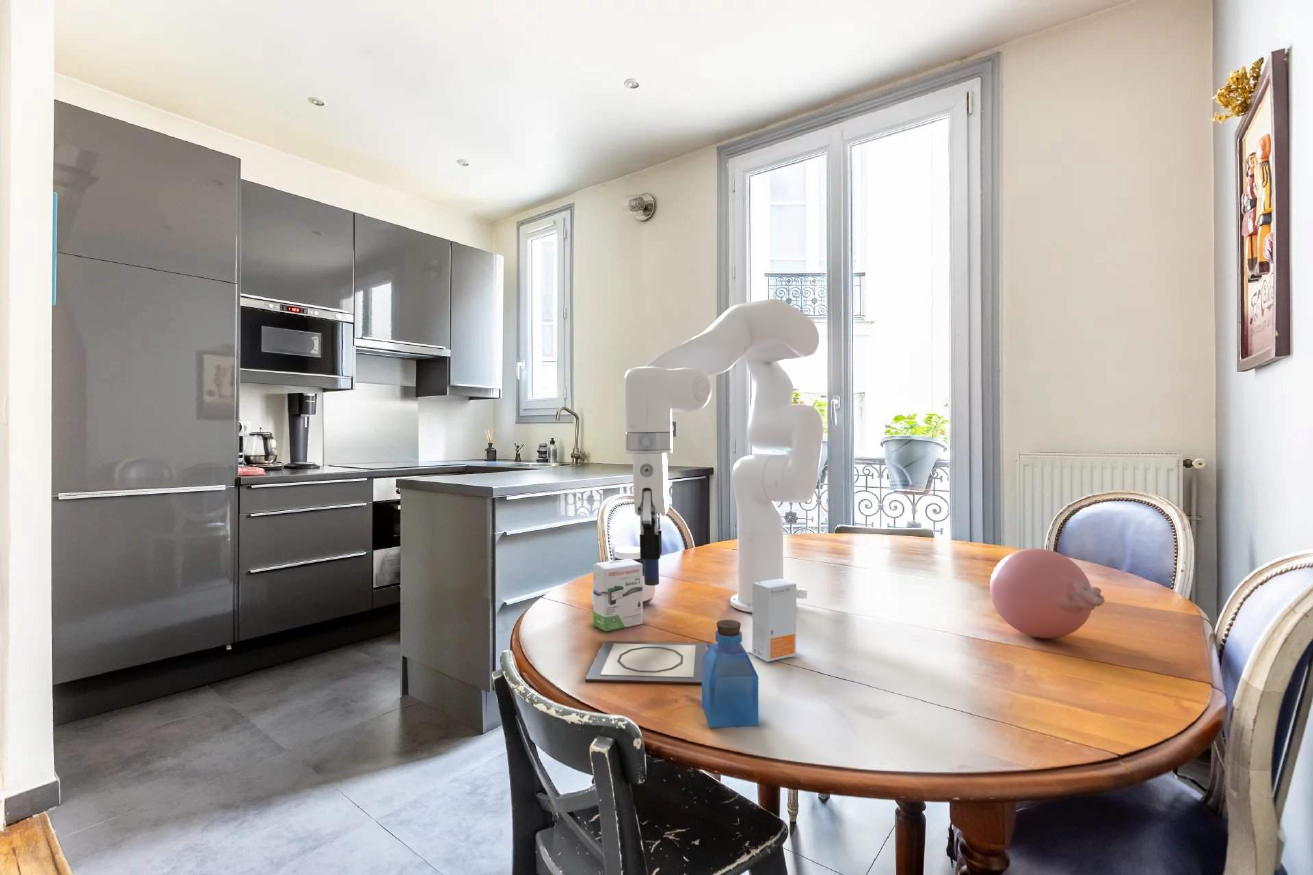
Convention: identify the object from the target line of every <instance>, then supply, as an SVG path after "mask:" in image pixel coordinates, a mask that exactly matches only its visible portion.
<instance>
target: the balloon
mask: <svg viewBox="0 0 1313 875" xmlns="http://www.w3.org/2000/svg"><path fill="white" fill-rule="evenodd" d="M1101 593H1102V589H1101V588H1100V587H1097V586H1092V585H1091V583H1090V580H1089V578H1088V577H1087V575H1086V573H1085V572H1084V571H1083V569H1082V568H1080V566H1079V565H1078V564H1077V563H1075V562H1074V561H1073V560H1072V559H1071V558H1069V557H1067V556H1065V555H1063V554H1061V553H1059V552H1056V551H1053V550H1051V549H1045V548H1036V547H1035V548H1034V547H1033V548H1024V549H1020V550H1017V551H1014V552H1012V553H1010V554H1008V555H1007V556H1005V557H1004V558H1002V559H1001V560H1000V561H999V563H997V565H996V566H995V567H994V569H993V571H992V574H991V577H990V581H989V594H990V598H991V601H992V604H993V606H994V609H995V610H996V612H997V614H998V615H999V616H1000V617H1001V618H1002V619H1003V620H1004V622H1005V623H1007V624H1008V625H1009V626H1010V627H1012V628H1014V629H1015V630H1017V631H1019V632H1020V633H1022V634H1025V635H1027V636H1030V637H1033V638H1039V639H1058V638H1062V637H1066V636H1069V635H1071V634H1073V633H1075V632H1076V631H1078V630H1079V629H1080V628H1082V627H1083V626H1084V624H1086V622H1087V620H1088V619H1089V617H1090V615H1091V613H1092V611H1094V610H1095V608H1096V607H1100V606H1103V604H1104V603H1105V600H1106V599H1105V597H1104V596H1103V595H1101Z"/></svg>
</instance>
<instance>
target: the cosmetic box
mask: <svg viewBox="0 0 1313 875" xmlns="http://www.w3.org/2000/svg"><path fill="white" fill-rule="evenodd" d="M796 587H797V583H795V582H791V581H789V580H786V579H784V578H783V579H775V580H766V581H762V582H756V583H753V610H752V616H751V617H752V624H751V626H752V630H751V631H752V633H751V634H752V635H751V636H752V637H751V639H752V640H751V641H752V642H751V654H752V655H753V656H755V657H757V658H759V659H760V660H762V661H765V662H766V663H769V662H772V661H773V662H774V661H777V660H783V659H788V658H794V657H796V655H797V598H796Z"/></svg>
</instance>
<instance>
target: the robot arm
mask: <svg viewBox="0 0 1313 875" xmlns="http://www.w3.org/2000/svg"><path fill="white" fill-rule="evenodd" d="M819 342H820V334H819V330H818V327H817V325H816V324H815V322H814V321H813V320H812V319H811V318H810V317H809V316H808V315H806V314H805V313H804V312H802V311H801V310H799V309H798V308H796V307H795V306H793V305H792V304H790V303H788V302H786V301H784V300H781V299H777V298H770V299H763V300H757V301H756V300H755V301H748V302H744V303H738V304H735V305H733V306H731V307H729V308H728V309H726V310H725V311H724V312H723V313H722V314H721V315H720V316H719V317H718V318H717V319H715V320H714V321H713V322H712V323H711V324H710V325H709V326H708V327H707V328H705V330H703V331H702V332H701V333H700V334H698V335H695V336H694V337H692V338H690V339H687V340H685V341H684V342H682V343H679V344H678V345H676V346H674V347H672V348H670V349H668V350H665V351H664V352H662V353H660V354H659V355H657V356H656V357H654V358H653V359H652V360H651V361H649V362H648V363H647V364H646V365H645V366H637V367H632V368H629V369H628V370H627V371H626V372H625V375H624V404H625V405H624V410H625V411H624V412H625V413H624V414H625V417H624V418H625V453H626V454H630V455H632V475H633V476H632V479H633V480H632V481H633V483H632V484H633V485H632V486H633V505H634V514H635V515H636V516H638V517H639V518H640V520H639V521H640V524H639V525H640V526H639V527H640V534H639V547H640V558H641V559H643V560H658V559H659V560H660V559H661V555H662V554H663V541H662V540H663V539H662V538H663V536H662V534H663V533H662V531H663V530H661V517H664V516H666V514H668V511H669V508H670V501H669V472H668V458H667V454H670V453H671V454H672V453H673V413H674V414H676V413H677V414H678V413H693V412H696V411H699V410H702V409H703V408H704V407H706V405H708V403H709V401H710V399H711V397H712V383H711V381H710V378H712V377H715V376H717V375H720V374H723V373H725V372H727V371H729V370H730V369H731V368H733V366H734V365H735V364H736V363H737V362H738V361H739V360H740V359H741V358H742V357H743V359H744V361H745V364H746V365H747V367H748V370H749V373H750V375H751V379H752V397H751V400H750V401H751V403H750V409H749V414H748V420H747V426H746V427H747V428H746V438H747V443H748V444H749V445H750V446H751V447H752V448H755V449H758V450H763V451H787V452H789V451H791V455H789V454H788V455H785V454H781V455H780V454H779V455H778V454H761V453H760V454H757V453H756V454H748V455H745V456H742V457H740V458H739V459H738V460H737V461H736V462H735V463H734V465H733V467H732V470H731V482H732V488H733V494H734V498H735V499H734V500H735V506H736V507H735V508H736V537H737V538H736V539H737V541H736V544H737V548H736V549H737V556H736V557H737V561H736V562H737V593H736V594H734V595H732V596H730V605H731V606H732V608H734V609H736V610H738V611H743V612H745V613H746V612H747V613H752V610H753V583H756V582H762V581H766V580H775V579H784V523H783V522H784V520H783V517H782V514H781V512H780V510H779V508H778V507H777V505H776V504H775V502H778V503H790V504H792V503H793V504H802V503H803V504H804V503H807V502H809V501H810V500H811V499H812V498H813V496H814V495H815V492H816V489H817V484H818V478H819V471H820V463H821V456H822V450H823V449H822V448H823V441H824V424H823V419H822V416H821V413H820V412H819V411H818V410H817V408H815V407H814V406H812V405H808V404H792V402H793V394H794V384H793V382H792V379H791V378H790V376H789V375H788V373H787V372H786V370H784V369H783V367H782V366H781V365H780V364H779V362H784V361H786V362H787V361H799V360H805V359H809V358H810V357H812V356H813V355H814V354H815V353H816V351H817V350H818V346H819ZM807 598H808V591H807V588H799V587H798V586H796V599H805V600H806V599H807Z"/></svg>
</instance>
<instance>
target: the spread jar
mask: <svg viewBox="0 0 1313 875" xmlns="http://www.w3.org/2000/svg"><path fill="white" fill-rule="evenodd" d="M624 559H632V560H634V561H636V562H638V563H641V564H642V576H643V577H642V578H643V608H645V607H646V606H648V605H649V604H650V603H651V602H652V601H653V599H654V597H655V595H656V587H657V585H654V586H649V585H645V584H644V560H643V559H641V558H640V546H620V547H617V548H615V549H614V559H612V561H616V560H624ZM590 598H591V603H592V604H593V588H592V589H591V597H590Z"/></svg>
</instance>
